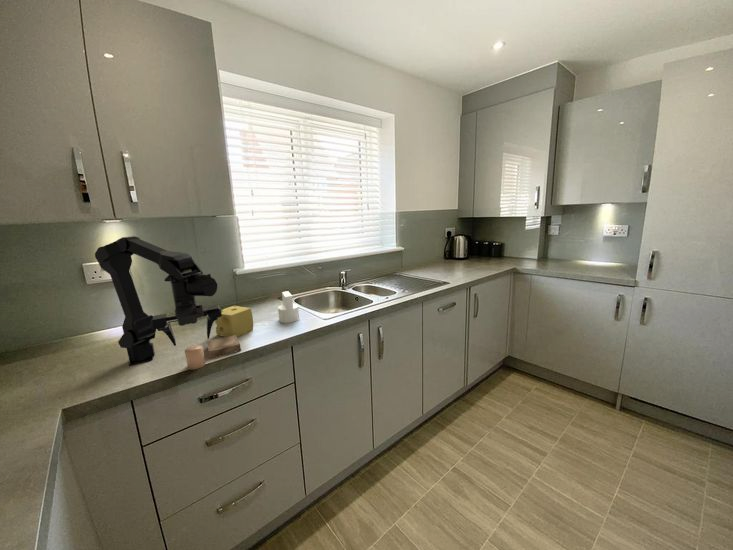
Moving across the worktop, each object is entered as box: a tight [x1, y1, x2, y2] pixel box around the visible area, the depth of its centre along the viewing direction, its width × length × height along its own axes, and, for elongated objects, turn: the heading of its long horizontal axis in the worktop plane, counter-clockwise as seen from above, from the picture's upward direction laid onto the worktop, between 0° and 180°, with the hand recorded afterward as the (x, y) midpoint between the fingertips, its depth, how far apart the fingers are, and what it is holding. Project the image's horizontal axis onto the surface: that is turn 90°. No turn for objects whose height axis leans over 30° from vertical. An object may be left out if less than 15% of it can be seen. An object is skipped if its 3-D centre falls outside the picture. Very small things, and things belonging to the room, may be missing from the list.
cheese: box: [214, 305, 254, 338], centre depth 121 cm, size 10×11×10 cm
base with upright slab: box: [277, 290, 300, 324], centre depth 134 cm, size 9×9×12 cm
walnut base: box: [206, 335, 242, 359], centre depth 107 cm, size 10×10×3 cm
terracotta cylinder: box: [184, 344, 206, 371], centre depth 96 cm, size 5×5×6 cm
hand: (192, 341), depth 95 cm, fingers open, 9 cm apart
